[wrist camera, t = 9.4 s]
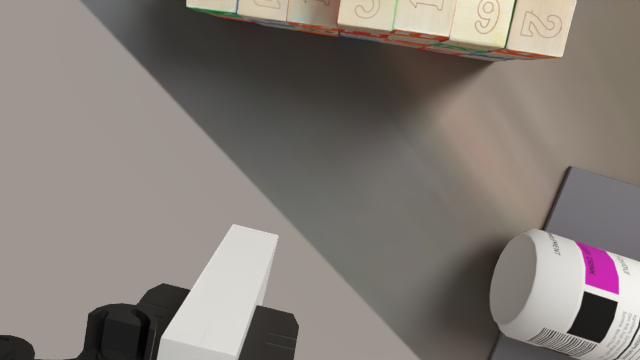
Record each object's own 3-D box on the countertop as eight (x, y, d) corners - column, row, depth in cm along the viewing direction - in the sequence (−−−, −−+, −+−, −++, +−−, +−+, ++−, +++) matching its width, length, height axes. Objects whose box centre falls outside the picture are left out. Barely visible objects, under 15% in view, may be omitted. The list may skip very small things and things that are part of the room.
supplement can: (549, 215, 34) (755, 281, 35) (496, 236, 42) (664, 289, 43) (530, 334, 32) (751, 404, 32) (478, 332, 40) (655, 388, 40)
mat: (570, 166, 40) (572, 167, 39) (761, 224, 40) (766, 225, 40) (488, 361, 44) (489, 364, 43) (663, 413, 44) (666, 416, 43)
